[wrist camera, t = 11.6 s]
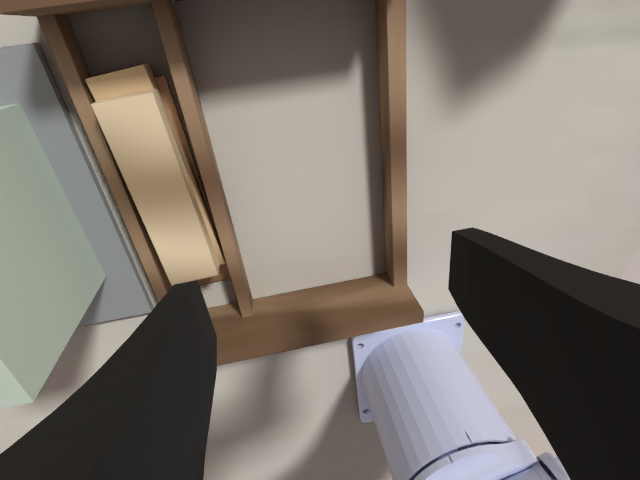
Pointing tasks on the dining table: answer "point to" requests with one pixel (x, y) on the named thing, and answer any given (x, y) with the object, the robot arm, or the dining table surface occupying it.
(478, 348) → the dining table surface
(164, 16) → the walnut rack
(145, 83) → the middle offcut
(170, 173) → the top offcut
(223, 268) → the bottom offcut
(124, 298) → the grey rubber mat
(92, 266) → the sage plywood sheet
